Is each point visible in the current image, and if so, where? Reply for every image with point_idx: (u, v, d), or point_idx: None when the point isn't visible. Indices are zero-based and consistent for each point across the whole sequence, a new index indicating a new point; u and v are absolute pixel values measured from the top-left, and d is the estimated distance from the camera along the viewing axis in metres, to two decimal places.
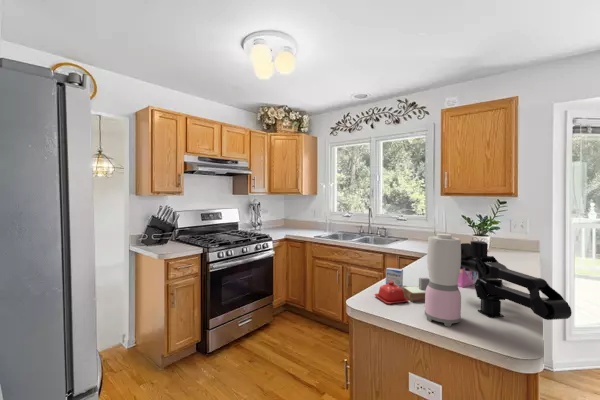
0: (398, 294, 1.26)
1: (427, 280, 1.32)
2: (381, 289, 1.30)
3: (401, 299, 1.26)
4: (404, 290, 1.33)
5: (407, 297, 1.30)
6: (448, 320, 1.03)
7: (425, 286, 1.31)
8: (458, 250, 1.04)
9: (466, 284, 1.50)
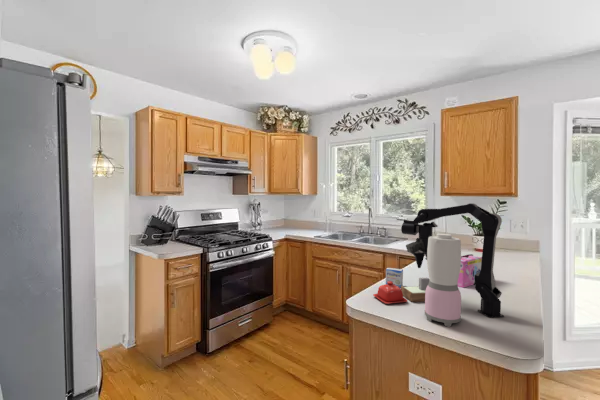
0: (397, 294, 1.25)
1: (427, 280, 1.32)
2: (380, 289, 1.29)
3: (400, 299, 1.26)
4: (404, 290, 1.33)
5: (407, 297, 1.30)
6: (448, 320, 1.03)
7: (425, 286, 1.31)
8: (458, 250, 1.04)
9: (467, 284, 1.50)
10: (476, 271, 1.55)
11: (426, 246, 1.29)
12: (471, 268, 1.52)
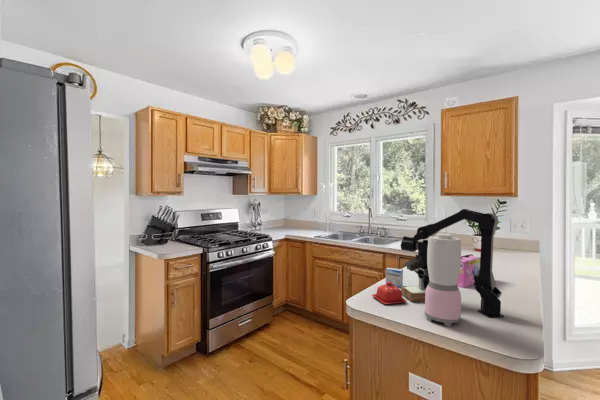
0: (396, 294, 1.25)
1: None
2: (379, 289, 1.29)
3: (399, 300, 1.25)
4: (404, 290, 1.33)
5: (407, 297, 1.30)
6: (448, 320, 1.03)
7: None
8: (458, 250, 1.04)
9: (467, 284, 1.49)
10: (476, 271, 1.55)
11: (425, 264, 1.29)
12: (472, 268, 1.51)
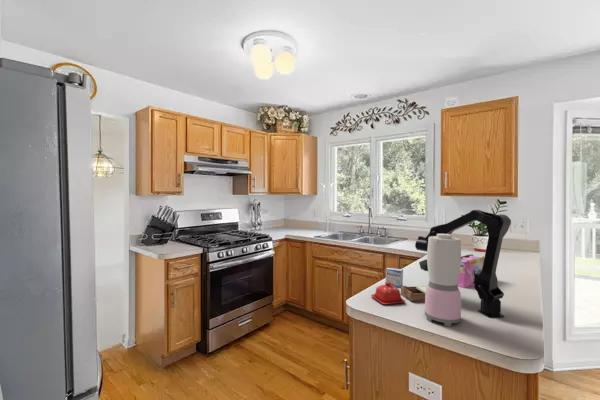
0: (395, 295, 1.25)
1: None
2: (377, 290, 1.29)
3: (397, 300, 1.25)
4: (404, 290, 1.33)
5: (407, 297, 1.30)
6: (448, 320, 1.03)
7: None
8: (458, 250, 1.04)
9: (468, 284, 1.49)
10: (477, 271, 1.54)
11: None
12: (472, 268, 1.51)
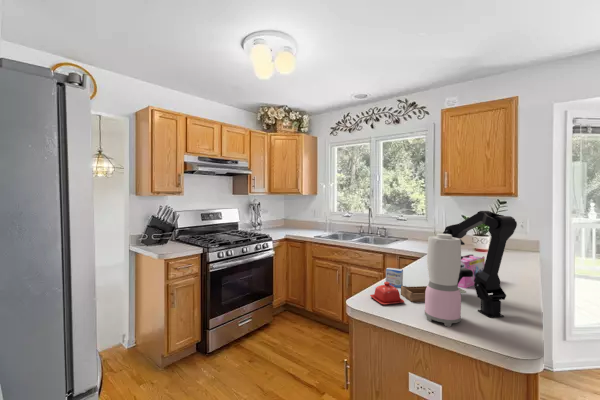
0: (394, 295, 1.24)
1: None
2: (377, 290, 1.29)
3: (397, 300, 1.25)
4: (404, 290, 1.33)
5: (407, 297, 1.30)
6: (448, 320, 1.03)
7: None
8: (458, 250, 1.04)
9: (469, 285, 1.49)
10: (477, 271, 1.54)
11: None
12: (473, 268, 1.51)
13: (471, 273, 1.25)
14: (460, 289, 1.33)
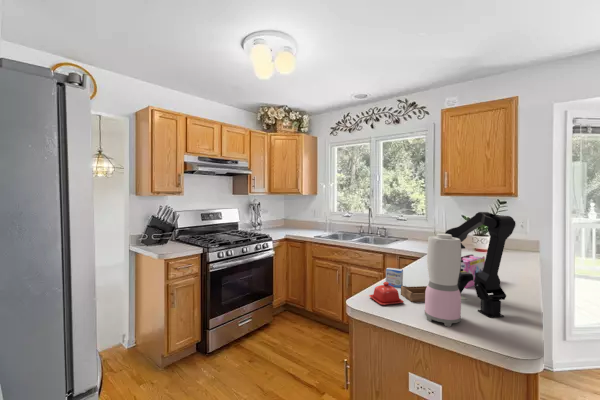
0: (393, 295, 1.24)
1: None
2: (376, 290, 1.28)
3: (396, 300, 1.24)
4: (404, 290, 1.33)
5: (407, 297, 1.30)
6: (448, 320, 1.03)
7: None
8: (458, 250, 1.04)
9: (469, 285, 1.49)
10: (478, 271, 1.54)
11: None
12: (473, 268, 1.51)
13: (471, 277, 1.25)
14: (461, 296, 1.33)
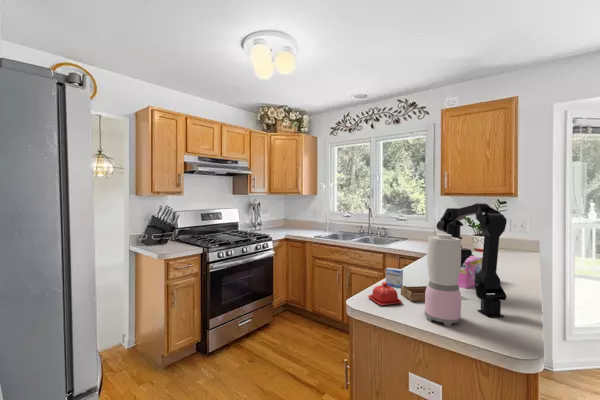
0: (392, 295, 1.24)
1: None
2: (374, 290, 1.28)
3: (395, 300, 1.24)
4: (404, 290, 1.33)
5: (407, 297, 1.30)
6: (448, 320, 1.03)
7: None
8: (458, 250, 1.04)
9: (470, 285, 1.48)
10: (478, 271, 1.54)
11: None
12: (474, 268, 1.51)
13: (470, 252, 1.31)
14: (461, 296, 1.33)
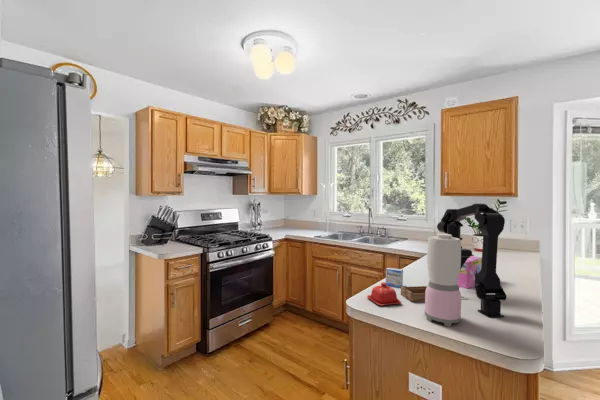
0: (391, 296, 1.23)
1: None
2: (373, 290, 1.28)
3: (394, 301, 1.24)
4: (404, 290, 1.33)
5: (407, 297, 1.30)
6: (448, 320, 1.03)
7: None
8: (458, 250, 1.04)
9: (470, 285, 1.48)
10: (478, 271, 1.54)
11: None
12: (474, 268, 1.51)
13: (470, 253, 1.32)
14: (461, 296, 1.34)
